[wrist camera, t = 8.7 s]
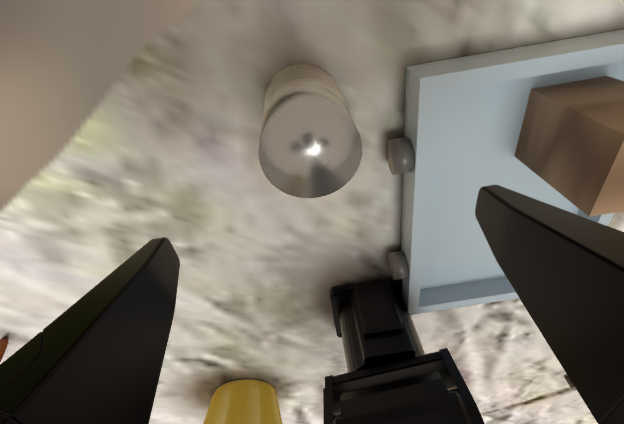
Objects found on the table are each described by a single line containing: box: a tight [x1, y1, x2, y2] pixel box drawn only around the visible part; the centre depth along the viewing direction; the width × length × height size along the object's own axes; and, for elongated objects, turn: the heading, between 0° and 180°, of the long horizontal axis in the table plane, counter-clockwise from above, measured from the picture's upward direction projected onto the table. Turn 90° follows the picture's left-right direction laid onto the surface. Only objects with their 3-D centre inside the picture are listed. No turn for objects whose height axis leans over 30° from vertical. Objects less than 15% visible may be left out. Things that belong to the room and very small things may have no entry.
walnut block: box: [514, 76, 624, 217], centre depth 16 cm, size 4×4×6 cm
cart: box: [387, 29, 624, 315], centre depth 21 cm, size 18×15×2 cm
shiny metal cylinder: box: [259, 64, 362, 198], centre depth 15 cm, size 4×4×6 cm
